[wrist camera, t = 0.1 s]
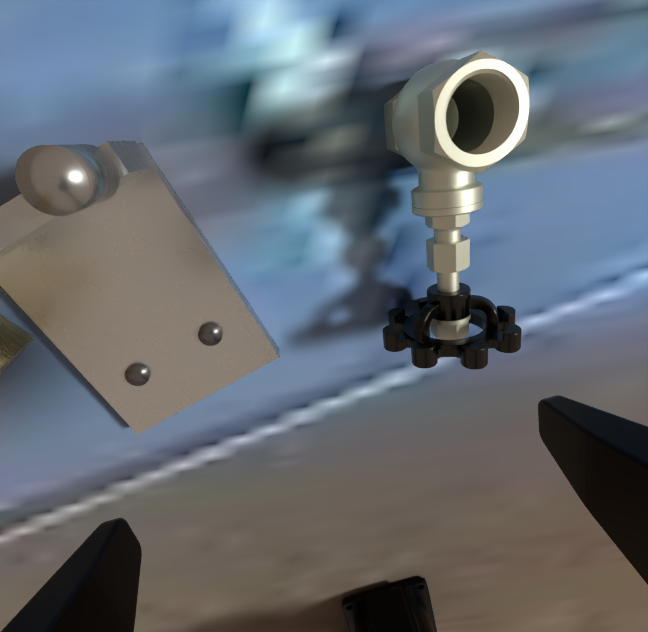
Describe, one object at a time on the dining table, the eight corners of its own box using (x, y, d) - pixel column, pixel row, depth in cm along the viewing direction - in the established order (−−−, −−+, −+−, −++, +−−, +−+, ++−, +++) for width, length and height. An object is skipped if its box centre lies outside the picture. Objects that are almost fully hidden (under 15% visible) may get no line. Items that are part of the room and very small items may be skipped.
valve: (345, 82, 20) (369, 322, 24) (381, 56, 14) (404, 383, 18) (485, 63, 20) (482, 303, 25) (580, 29, 14) (553, 356, 19)
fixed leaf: (279, 348, 24) (284, 432, 17) (142, 423, 25) (94, 533, 18) (135, 132, 19) (62, 128, 12) (-30, 232, 20) (-187, 282, 13)
